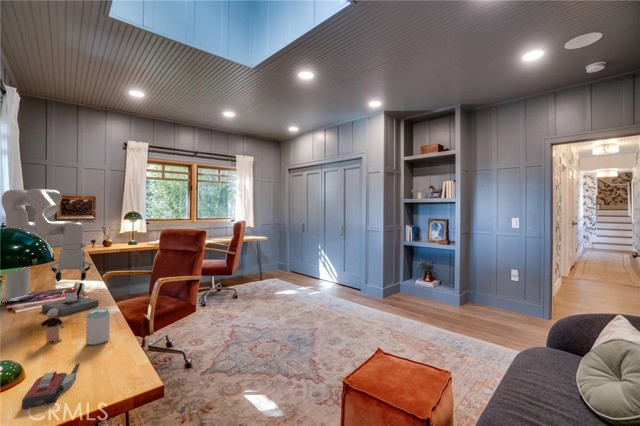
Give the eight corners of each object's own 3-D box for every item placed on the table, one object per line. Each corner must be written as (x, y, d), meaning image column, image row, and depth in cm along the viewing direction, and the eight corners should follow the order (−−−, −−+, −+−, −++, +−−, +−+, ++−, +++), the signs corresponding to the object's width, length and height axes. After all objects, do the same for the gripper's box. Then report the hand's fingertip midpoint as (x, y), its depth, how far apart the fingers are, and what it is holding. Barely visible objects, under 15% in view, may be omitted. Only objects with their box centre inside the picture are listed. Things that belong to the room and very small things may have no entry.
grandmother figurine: (66, 338, 114) (67, 306, 113) (62, 342, 110) (63, 309, 110) (40, 341, 110) (41, 308, 110) (36, 346, 107) (36, 311, 107)
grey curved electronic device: (66, 296, 167) (74, 279, 169) (76, 297, 170) (84, 280, 172) (66, 303, 154) (74, 284, 157) (77, 304, 157) (85, 286, 160)
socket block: (42, 311, 143) (42, 304, 143) (78, 301, 157) (79, 296, 157) (62, 315, 137) (62, 309, 137) (98, 305, 152) (98, 300, 152)
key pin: (67, 307, 148) (68, 288, 148) (77, 306, 150) (77, 287, 150) (64, 310, 145) (64, 290, 145) (74, 309, 146) (75, 289, 146)
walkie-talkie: (63, 404, 76) (82, 367, 94) (64, 387, 76) (82, 354, 94) (17, 414, 72) (46, 374, 90) (18, 397, 72) (46, 359, 90)
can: (110, 342, 111) (111, 311, 111) (87, 347, 106) (87, 315, 106) (107, 336, 116) (108, 306, 116) (85, 341, 112) (86, 310, 112)
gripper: (95, 245, 154) (94, 277, 154) (53, 245, 147) (52, 279, 147) (91, 247, 147) (89, 281, 147) (47, 248, 140) (45, 283, 140)
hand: (70, 280), depth 147 cm, fingers open, 9 cm apart
